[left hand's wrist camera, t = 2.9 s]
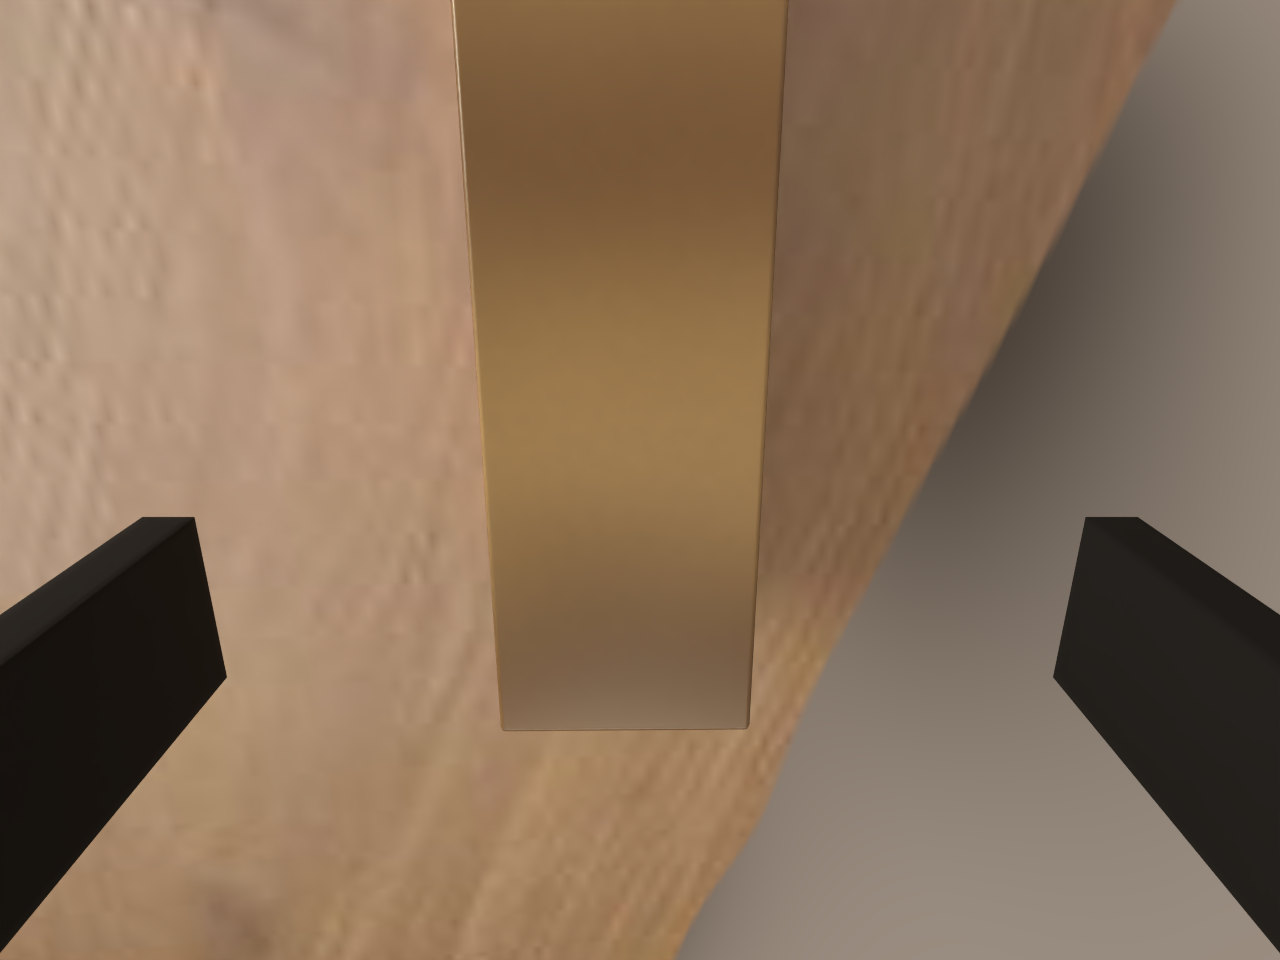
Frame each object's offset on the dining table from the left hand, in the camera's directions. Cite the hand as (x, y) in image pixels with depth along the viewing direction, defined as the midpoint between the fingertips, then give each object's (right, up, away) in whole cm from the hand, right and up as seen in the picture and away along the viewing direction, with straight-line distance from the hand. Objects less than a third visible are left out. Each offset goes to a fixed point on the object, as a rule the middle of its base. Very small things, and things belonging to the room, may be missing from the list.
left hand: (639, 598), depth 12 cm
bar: (0, +10, +7) cm, 12 cm away
